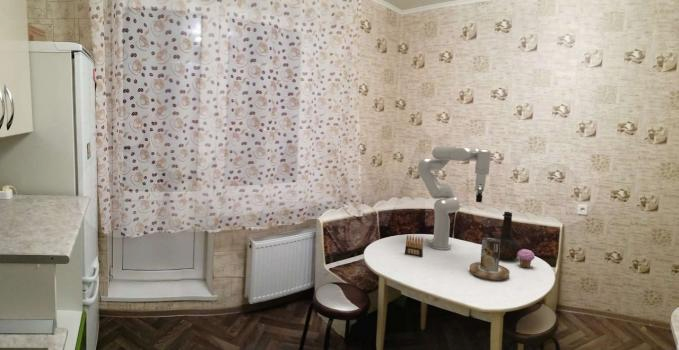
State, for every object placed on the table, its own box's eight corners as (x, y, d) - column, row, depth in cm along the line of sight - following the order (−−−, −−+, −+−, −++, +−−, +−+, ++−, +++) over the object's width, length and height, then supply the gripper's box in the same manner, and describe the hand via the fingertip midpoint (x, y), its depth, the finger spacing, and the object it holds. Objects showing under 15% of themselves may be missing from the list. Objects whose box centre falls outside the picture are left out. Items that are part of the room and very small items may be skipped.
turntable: (469, 276, 208) (469, 272, 207) (469, 263, 226) (469, 259, 226) (510, 282, 201) (511, 278, 201) (507, 268, 220) (508, 264, 220)
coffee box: (498, 268, 215) (501, 239, 213) (497, 272, 209) (500, 242, 207) (480, 265, 218) (483, 236, 216) (479, 268, 213) (481, 239, 210)
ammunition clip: (404, 254, 242) (405, 234, 240) (405, 253, 244) (406, 234, 242) (421, 257, 237) (423, 237, 235) (422, 256, 238) (424, 237, 237)
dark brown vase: (517, 254, 248) (522, 210, 244) (522, 264, 231) (527, 217, 227) (487, 251, 253) (491, 207, 249) (490, 260, 236) (494, 214, 232)
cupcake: (516, 267, 225) (518, 250, 224) (516, 262, 233) (517, 246, 232) (534, 270, 222) (535, 253, 221) (532, 265, 230) (534, 248, 229)
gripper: (475, 168, 237) (472, 196, 240) (474, 172, 221) (471, 202, 224) (488, 169, 235) (485, 198, 238) (489, 173, 219) (485, 204, 222)
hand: (478, 200), depth 231 cm, fingers open, 9 cm apart
